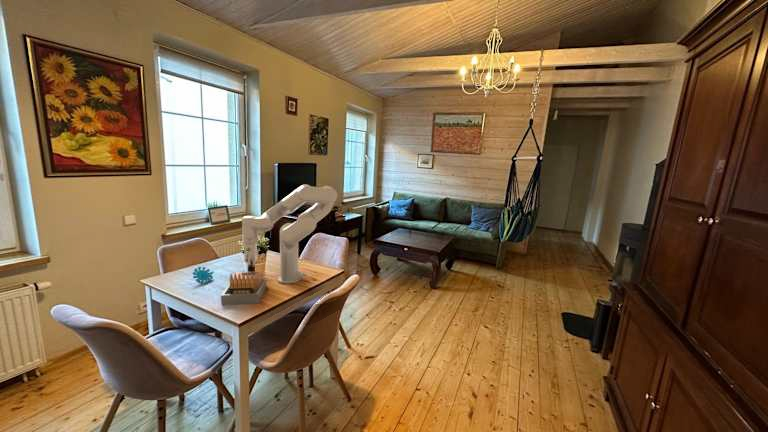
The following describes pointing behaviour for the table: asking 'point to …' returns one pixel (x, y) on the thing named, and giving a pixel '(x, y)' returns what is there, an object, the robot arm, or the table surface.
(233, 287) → the ammunition clip
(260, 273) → the slider
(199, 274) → the gear
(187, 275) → the table surface
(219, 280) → the table surface
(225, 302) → the grey shallow rimmed piece
